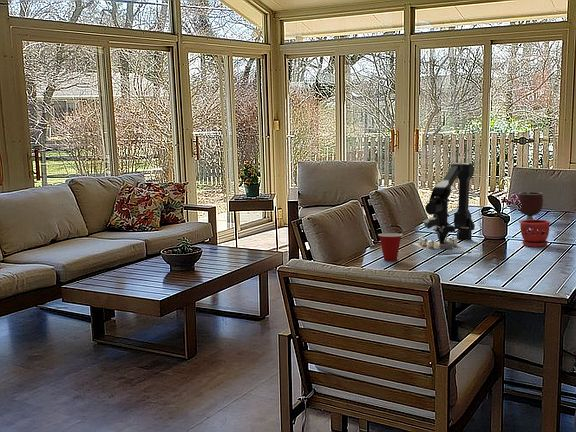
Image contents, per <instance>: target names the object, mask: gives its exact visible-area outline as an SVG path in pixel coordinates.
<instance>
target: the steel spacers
mask: <svg viewBox="0 0 576 432" xmlns="http://www.w3.org/2000/svg"><path fill="white" fill-rule="evenodd" d="M444 241H449V242H452V243H453V248H458V247H457V244H458V239H457V238H455V236H448V235H447V236H446V238H445V240H444ZM427 242H428V248H430V249H429V250H432V248H434V242H435V240H432V239H429V240H428V238H426V237H425V236H419V237H418V243H419V244H422V246H423V247H426V246H427Z"/></svg>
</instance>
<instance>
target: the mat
mask: <svg viewBox="0 0 576 432" xmlns="http://www.w3.org/2000/svg"><path fill="white" fill-rule="evenodd" d="M462 254H472V251H467V252H466V251H465V252H454V253H441V254H440V253H439V254H434V256H436V257H437V256H449V255H462Z"/></svg>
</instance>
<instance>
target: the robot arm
mask: <svg viewBox="0 0 576 432" xmlns="http://www.w3.org/2000/svg"><path fill="white" fill-rule="evenodd" d="M474 171H475V166H474V165H473V163H471V162H470V163H469V162H453V163H451V165H450V168H449V169H448V171H447V173H446V174H445V175H444V177H443V179H442V180H441V181H440V182H438V183H437V184H435V186H434V187H433V189H432V191H431V194H430V197H429V200H428V203H427V204H426V205H425V208H424V210H425V212H426V214H428V215H431V216H432V217H429V218H426V219H425V220H423V221H422V222H423V225H424V228H427V229H431V228H432V230H433V231H434V232H435V233H436V235H437V239H438V242H443V241H444V240H445V238H446V236H447V237H448V234H449V233H455V232H456V239H457V241H470V242H474V240H473V238H472V237H473V236H472V235H473V233H472V231H474V230H475V226H476V225H475V223H474V221H473V219H472V214H471V212H470V210H469V205H470V203H469V201H470V199H469V198H470V180H471V179H472V177H473V176H474ZM456 180H458V181H459V182H458V184H459V185H458V186H459V187H458V206H457V207H458V208H457V211H456V212H454V214H453V225H452V224H450V223H449V222H448V218H449V217H450V214H449V213H448V209H449V208H448V207H449V206H448V204H449V203H450V199H449V197H450V196H451V193H452V186H453V185H454V183H455V181H456ZM433 227H434V228H433ZM456 230H457V231H456Z"/></svg>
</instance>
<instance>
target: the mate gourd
mask: <svg viewBox="0 0 576 432" xmlns="http://www.w3.org/2000/svg"><path fill="white" fill-rule="evenodd" d="M518 198H519V200H520V202H521V204H522V209H518V211H519V212H520V213H521V214H522V215H525V216H526V219H519V220H518V223H520V222H521V221H524V220H535V219H534V217H533V216H535V215H538V214H539V213H540V212H541V211H542V210H543V206H544V205H543V204H544V199H543V192H538V191H529V190H528V189H525V191H521V192H518V195H517V199H518Z"/></svg>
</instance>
